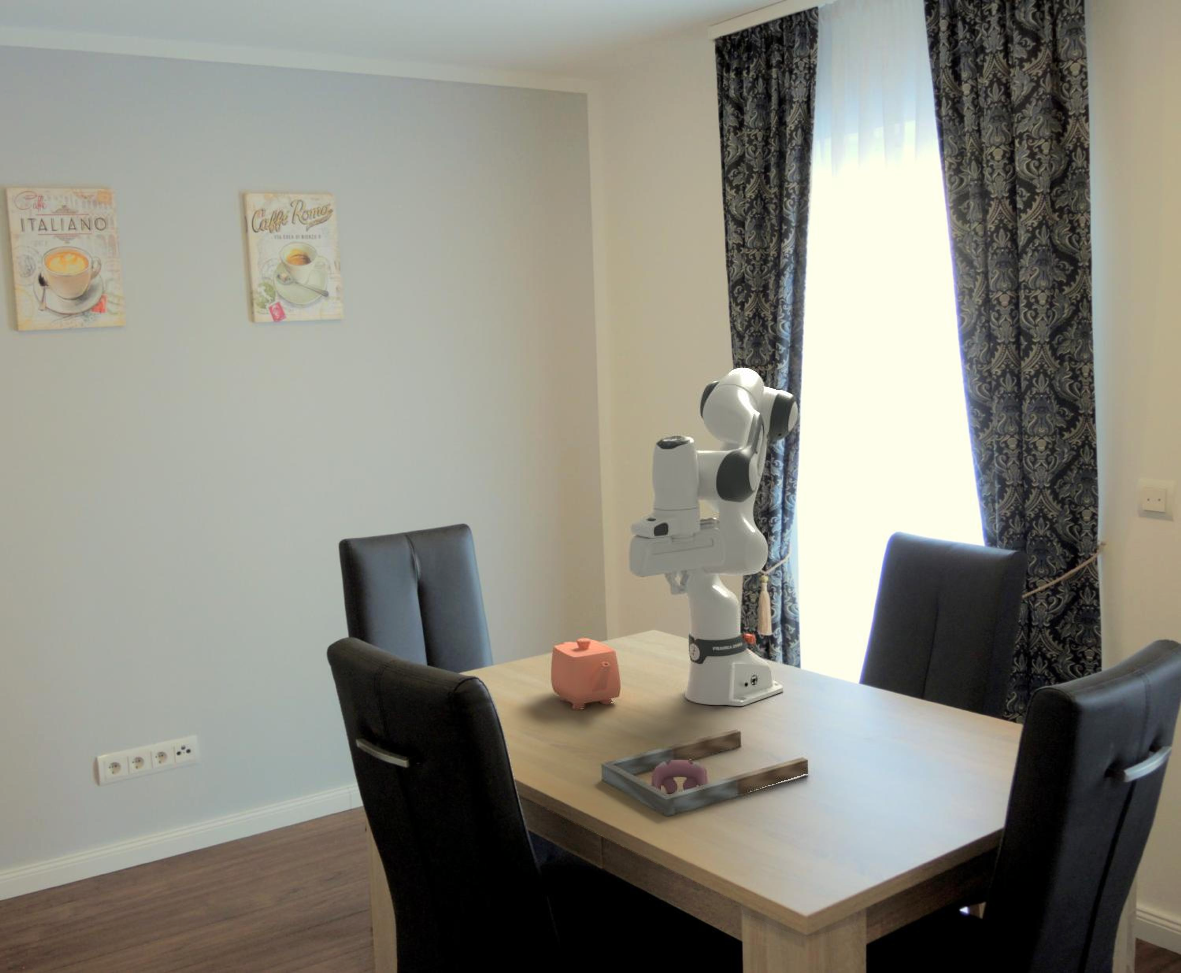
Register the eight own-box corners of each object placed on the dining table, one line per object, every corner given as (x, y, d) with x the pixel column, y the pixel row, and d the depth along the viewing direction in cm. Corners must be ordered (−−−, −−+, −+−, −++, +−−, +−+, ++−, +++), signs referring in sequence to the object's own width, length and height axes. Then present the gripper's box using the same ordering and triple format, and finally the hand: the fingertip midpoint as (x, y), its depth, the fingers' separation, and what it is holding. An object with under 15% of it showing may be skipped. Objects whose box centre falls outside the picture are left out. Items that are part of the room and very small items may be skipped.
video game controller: (708, 801, 203) (707, 760, 205) (708, 799, 199) (707, 757, 201) (652, 801, 204) (652, 760, 206) (651, 799, 200) (650, 757, 202)
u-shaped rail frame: (736, 744, 227) (735, 729, 226) (808, 775, 209) (807, 759, 208) (601, 779, 211) (601, 763, 211) (667, 816, 193) (666, 799, 193)
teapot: (634, 709, 251) (632, 646, 250) (581, 719, 246) (578, 655, 244) (592, 684, 271) (589, 626, 269) (542, 693, 266) (539, 633, 264)
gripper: (711, 514, 227) (713, 583, 229) (623, 526, 217) (626, 598, 219) (730, 518, 222) (732, 588, 224) (641, 530, 212) (644, 603, 213)
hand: (679, 593), depth 221 cm, fingers closed
